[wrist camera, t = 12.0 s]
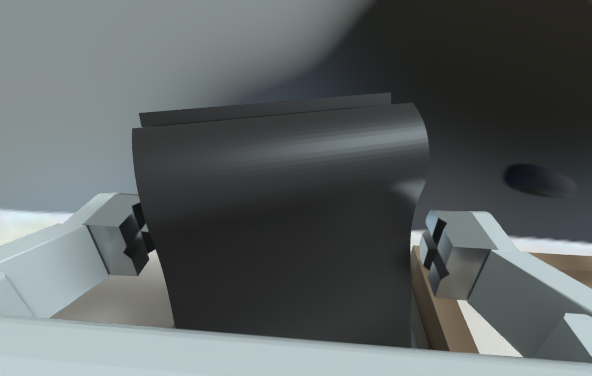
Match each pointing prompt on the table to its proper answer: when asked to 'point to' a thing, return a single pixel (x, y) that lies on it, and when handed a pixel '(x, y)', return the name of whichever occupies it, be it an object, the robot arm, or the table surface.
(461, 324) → the walnut frame
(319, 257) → the phone stand
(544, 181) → the table surface
